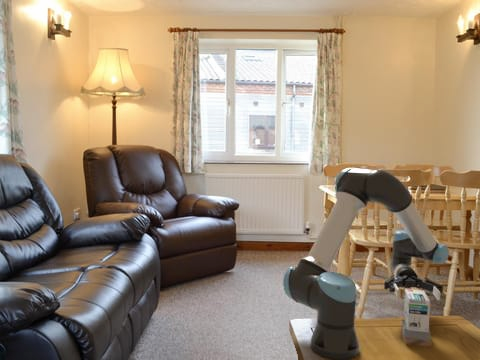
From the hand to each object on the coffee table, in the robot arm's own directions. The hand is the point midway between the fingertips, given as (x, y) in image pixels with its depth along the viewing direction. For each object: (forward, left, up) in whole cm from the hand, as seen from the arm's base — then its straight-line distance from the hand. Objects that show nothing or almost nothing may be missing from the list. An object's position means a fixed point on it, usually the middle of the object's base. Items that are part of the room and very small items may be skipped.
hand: (418, 294), depth 155 cm
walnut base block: (-1, -6, -15) cm, 16 cm away
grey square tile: (-1, -5, -12) cm, 13 cm away
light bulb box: (-1, -5, -9) cm, 10 cm away
